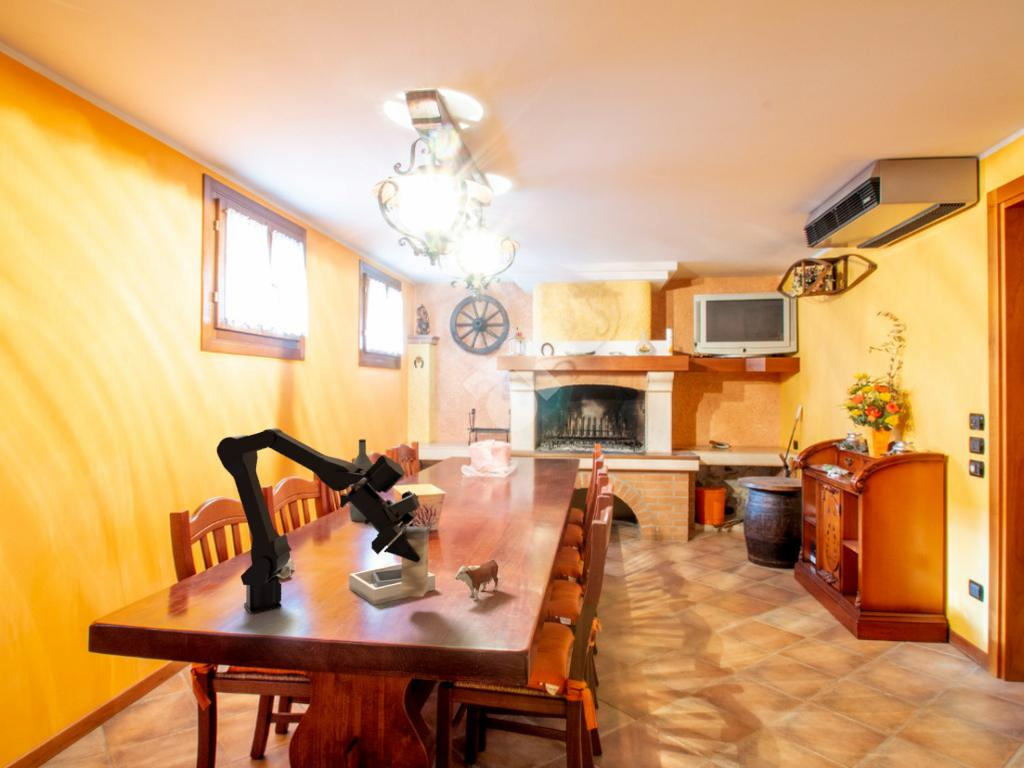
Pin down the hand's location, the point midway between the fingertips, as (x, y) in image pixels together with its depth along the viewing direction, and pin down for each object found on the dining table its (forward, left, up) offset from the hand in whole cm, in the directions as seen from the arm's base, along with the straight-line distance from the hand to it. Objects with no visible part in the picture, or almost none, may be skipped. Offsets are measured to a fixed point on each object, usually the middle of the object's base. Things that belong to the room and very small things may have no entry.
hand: (421, 557), depth 127 cm
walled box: (+1, +16, -12) cm, 20 cm away
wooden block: (-1, +1, -8) cm, 8 cm away
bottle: (+27, +92, -12) cm, 97 cm away
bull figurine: (+15, -1, -12) cm, 19 cm away
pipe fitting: (-16, +45, -12) cm, 49 cm away
